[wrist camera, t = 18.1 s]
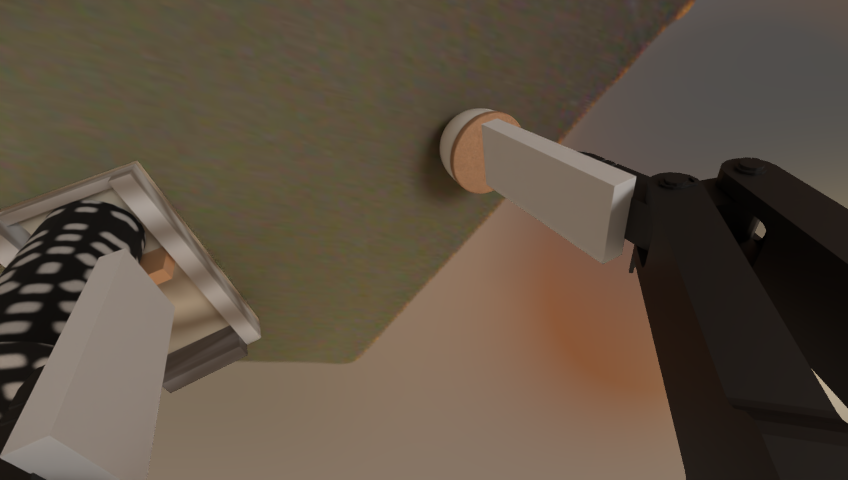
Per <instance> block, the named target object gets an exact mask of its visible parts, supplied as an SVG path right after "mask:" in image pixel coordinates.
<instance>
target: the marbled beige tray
mask: <svg viewBox="0 0 848 480" xmlns="http://www.w3.org/2000/svg"><path fill="white" fill-rule="evenodd" d="M83 200H93V201H101V202H106V203H110V204H113V205H116V206H118V207H120V208H123V209H124V210H126V211H128V212H129V213H131V214H132V215H133V216H134V217H135V218H137V220H138V221H139V222H140V223H141V224H142V226H143V228H144V230H145V234H146V245H145V248H144V251H143V254H146V253H148V252H150V251H153V250H155V249H158V248H160V247H164V248H165V249H166V251H167V252H168V253H169V254H170V255H171V256H172V258H173V259H174V260H175V267H174V272H173V277H172V279H170V280H168V281H165V282H163V283H161V284H158V285H157V286H158V287H159V289H160V290H161V291H162V292H163V293H164V295H165V296H166V297H167V298H168V299H169V301H170V302H171V303H172V304H173V305H174V307H175V312H174V318H173V324H172V330H171V336H170V342H169V348H168V354H167V360H166V366H165V372H164V378H163V384H162V387H164V388H165V389H166V390H167V391H169V392H170V393H172V392H174V391H176V390H178V389H180V388H182V387H184V386H186V385H188V384H190V383H192V382H194V381H196V380H198V379H200V378H202V377H204V376H206V375H208V374H210V373H213V372H214V371H217V370H219V369H221V368H223V367H225V366H227V365H229V364H231V363H233V362H235V361H237V360H239V359H241V358H243V357H245V356H247V344H249V343H251V342H253V341H256V340H258V339H260V338H261V333H260V323H259V318H258V317H257V316H256V314H255V313H254V312H253V310H252V309H251V308H250V307H249V305H248V304H247V303H246V301H245V300H244V299H243V297H242V296H241V295H240V294H239V292H238V291H237V290H236V288H235V287H234V286H233V284H232V283H231V282H230V280H229V279H228V278H227V277H226V275H225V274H224V273H223V271H222V270H221V269H220V267H219V266H218V265H217V264H216V262H215V261H214V260H213V258H212V257H211V256H210V254H209V253H208V252H207V251H206V249H205V248H204V247H203V245H202V244H201V243H200V241H199V240H198V239H197V237H196V236H195V235H194V234H193V232H192V231H191V230H190V228H189V227H188V226H187V224H186V223H185V222H184V221H183V219H182V218H181V217H180V215H179V214H178V213H177V211H176V210H175V209H174V207H173V206H172V205H171V204H170V202H169V201H168V200H167V198H166V197H165V196H164V194H163V193H162V192H161V191H160V189H159V188H158V187H157V185H156V184H155V183H154V181H153V180H152V179H151V178H150V176H149V175H148V174H147V172H146V171H145V170H144V168H143V167H142V166H141V164H140V163H139V162H138V161H134V162H132V163H129V164H126V165H123V166H120V167H118V168H115V169H112V170H109V171H106V172H104V173H101V174H98V175H95V176H92V177H90V178H87V179H84V180H81V181H79V182H76V183H73V184H70V185H67V186H65V187H62V188H59V189H56V190H53V191H51V192H48V193H45V194H42V195H39V196H37V197H34V198H31V199H28V200H25V201H23V202H20V203H17V204H14V205H12V206H9V207H6V208H3V209H0V264H2V265H3V266H4V267H5V268H6V267H7V266H8V264H9V263H10V262H11V261H12V259H13V258H14V257H15V256H16V254H17V253H18V252H19V251H20V249H21V248H22V247H23V246H24V244H25V243H26V242H27V241H28V239H29V238H30V237H31V236H32V234H33V233H34V232H35V231H36V229H37V228H38V227H39V226H40V224H41V223H42V222H43V220H44V219H45V218H46V217H47V215H48V214H50V213H51V212H52V211H53V210H54V209H56V208H58V207H60V206H63V205H66V204H68V203H71V202H75V201H83Z"/></svg>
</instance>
